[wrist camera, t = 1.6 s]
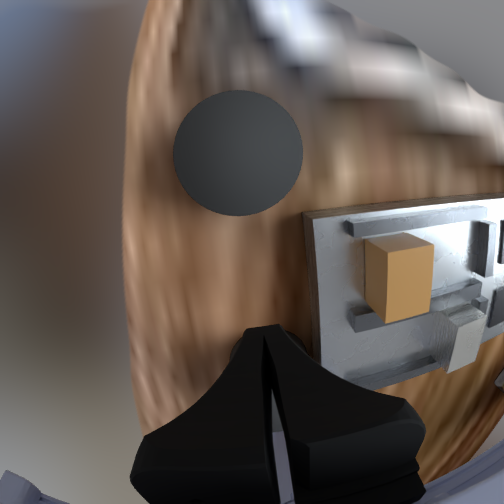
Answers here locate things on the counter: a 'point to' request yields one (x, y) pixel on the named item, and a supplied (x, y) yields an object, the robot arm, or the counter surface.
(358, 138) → the counter surface
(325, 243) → the power strip
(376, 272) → the toggle
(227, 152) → the pair of grey cylinders
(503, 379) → the coffee box
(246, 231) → the counter surface
